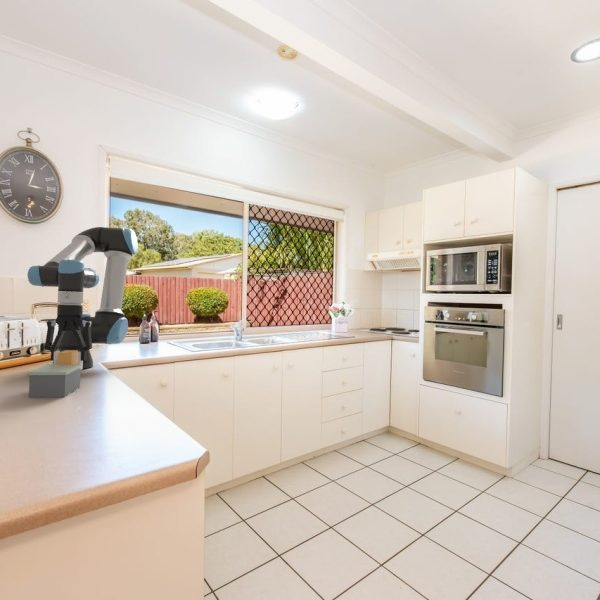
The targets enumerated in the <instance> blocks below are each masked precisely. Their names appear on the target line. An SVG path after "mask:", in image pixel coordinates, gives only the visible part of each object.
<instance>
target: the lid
mask: <svg viewBox="0 0 600 600" xmlns="http://www.w3.org/2000/svg"><path fill="white" fill-rule="evenodd" d="M77 363H78V350H65V351H62V352H59V355H58V364H52V363H47V364H45V365H42V366H39V367H37V368H34V369H31V370H29V371H27V375H28V376H30V375H67V374H69V373H71V372H73V371H75V370H77V369H79V368H81V367H82V364H77Z"/></svg>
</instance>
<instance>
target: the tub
mask: <svg viewBox="0 0 600 600" xmlns="http://www.w3.org/2000/svg"><path fill="white" fill-rule="evenodd" d="M81 371H82V370H81V368H79V369H77V370H75V371H73V372H71V373H69V374H67V375H28V376H29V379H28V398H29V397H38V398H65V396H66V397H67V396H69V395H70V394H69V393H71V392H72V393H74V392H75V391H77V390H78V389H80V388H81ZM79 387H80V388H79ZM77 388H78V389H77ZM76 389H77V390H76ZM74 390H75V391H74ZM73 391H74V392H73ZM72 393H71V394H72ZM68 394H69V395H68Z"/></svg>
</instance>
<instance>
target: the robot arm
mask: <svg viewBox="0 0 600 600" xmlns="http://www.w3.org/2000/svg"><path fill="white" fill-rule="evenodd" d="M138 245H139V244H138V239H137V235H136V233H135V231H134V230H133V229H131V228H126V227H125V228H124V227H103V226H96V227H91V228H88V229H86V230H83V231H81V232H79V233H78V234H76V235H75V236H74V237H73V238H72V240H71V242H70V243H69V244H68V245H67V246H65V247H64V248H63V249H61V250H60V251H59V252H58V253H57V254H56V255H54V256H53V257H52V258H51V259H49V260H48V261H47V262H46V263H45V264H43V265H32V266H30V267H29V269H28V271H27V275H26V276H27V280H28V282H29V284H31V286H36V287H42V288H43V287H46V288H47V287H52V288H56V287H58V288H57V303H58V304H57V310H56V311H57V312H56V314H57V316H56V318H55V319H54V320H47V321H46V325H47V331H46V337H45V343H44V350H45V351H46V350H47V351H50V361H51V362H52V363H51V364H58V355H59V352H62V351H65V350H78V363H77V364H82V367H81V371H82V370H85V369H84V368H87V369H90V368H89V367H91V368H93V367H92V366H94V360H93V357H92V354H91V351H90V350H92V349H93V344H100V345H101V344H103V345H105V344H106V345H107V344H108V345H115V344H120V343H122V342H124V340H125V338H126V336H127V334H128V329H129V320H128V319H127V318H126V317H125V313H124V312H123V311H122V308H123V303H124V302H123V301H124V294H125V293H124V292H125V287H126V286H125V285H126V278H127V270H128V263H129V261H131V260H132V258H133V255H136V254H137V253H138V250H139V249H138V248H139V246H138ZM93 253H103V255H104V257H105V258H106V263H105V272H104V280H103V286H102V292H101V298H100V305H99V309H97V310H96V311H95V312H94V316H91V313H90V312H89V313H83V310H84V307H83V305H82V304H83V303H84V289H90V288H94V287H96V286H98V284H99V282H100V275H99V273H98V272H97V271H96V270H94V269H92V268H89V267H88V268H87V267H85V263H84V261H83V259H84V258H85V257H87V256H89V255H92V254H93ZM56 326H57V327H58V328H57V334H56V336H55V327H56ZM54 336H55V338H54Z"/></svg>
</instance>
